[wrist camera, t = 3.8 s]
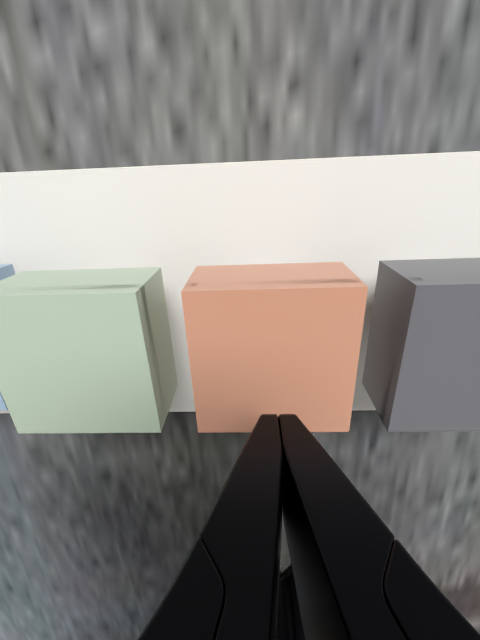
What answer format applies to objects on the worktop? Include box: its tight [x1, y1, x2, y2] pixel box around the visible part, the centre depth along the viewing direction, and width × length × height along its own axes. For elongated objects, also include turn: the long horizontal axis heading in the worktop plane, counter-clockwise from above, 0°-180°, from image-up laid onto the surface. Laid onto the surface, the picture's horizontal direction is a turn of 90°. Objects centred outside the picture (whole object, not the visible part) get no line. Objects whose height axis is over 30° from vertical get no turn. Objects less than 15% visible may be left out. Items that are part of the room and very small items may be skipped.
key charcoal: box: [362, 258, 480, 432], centre depth 11 cm, size 5×5×3 cm
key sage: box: [0, 267, 178, 433], centre depth 12 cm, size 5×5×3 cm
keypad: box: [0, 151, 480, 413], centre depth 14 cm, size 26×12×4 cm, turn 92°
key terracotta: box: [181, 262, 368, 433], centre depth 11 cm, size 5×5×3 cm
